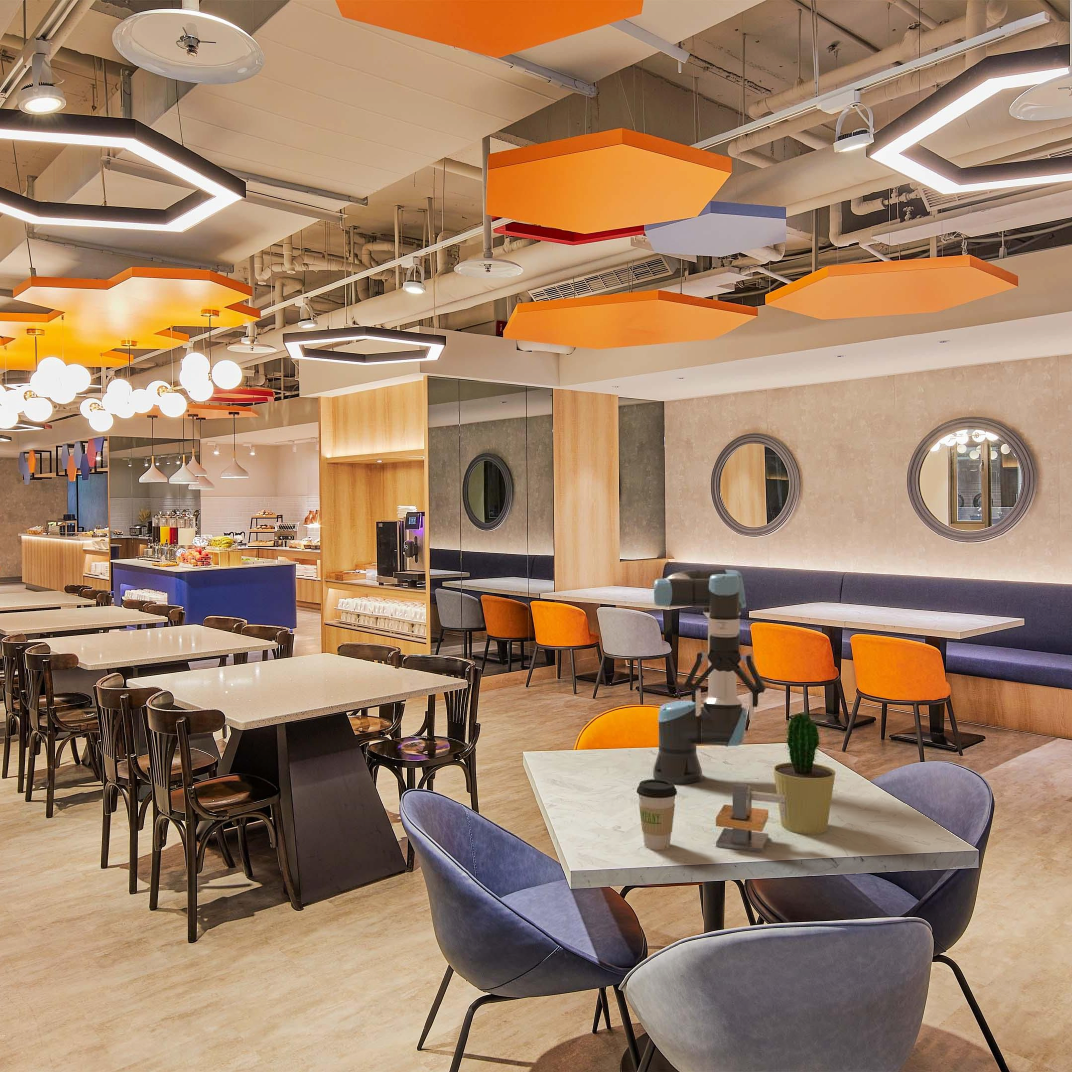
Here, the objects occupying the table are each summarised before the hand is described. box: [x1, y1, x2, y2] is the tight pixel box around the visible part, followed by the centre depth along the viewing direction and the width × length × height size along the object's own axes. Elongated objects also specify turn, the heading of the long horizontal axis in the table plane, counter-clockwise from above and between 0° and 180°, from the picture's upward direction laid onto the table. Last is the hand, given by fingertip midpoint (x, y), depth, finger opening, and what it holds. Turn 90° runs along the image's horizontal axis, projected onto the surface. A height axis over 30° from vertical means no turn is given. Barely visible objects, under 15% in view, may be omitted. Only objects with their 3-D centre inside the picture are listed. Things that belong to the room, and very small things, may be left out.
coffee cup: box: [636, 778, 678, 851], centre depth 211 cm, size 10×10×15 cm
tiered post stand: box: [715, 784, 786, 854], centre depth 212 cm, size 16×11×13 cm
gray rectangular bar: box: [732, 781, 749, 845], centre depth 211 cm, size 3×3×14 cm
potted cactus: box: [773, 712, 836, 835], centre depth 224 cm, size 15×15×30 cm
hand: (724, 717), depth 222 cm, fingers open, 13 cm apart
